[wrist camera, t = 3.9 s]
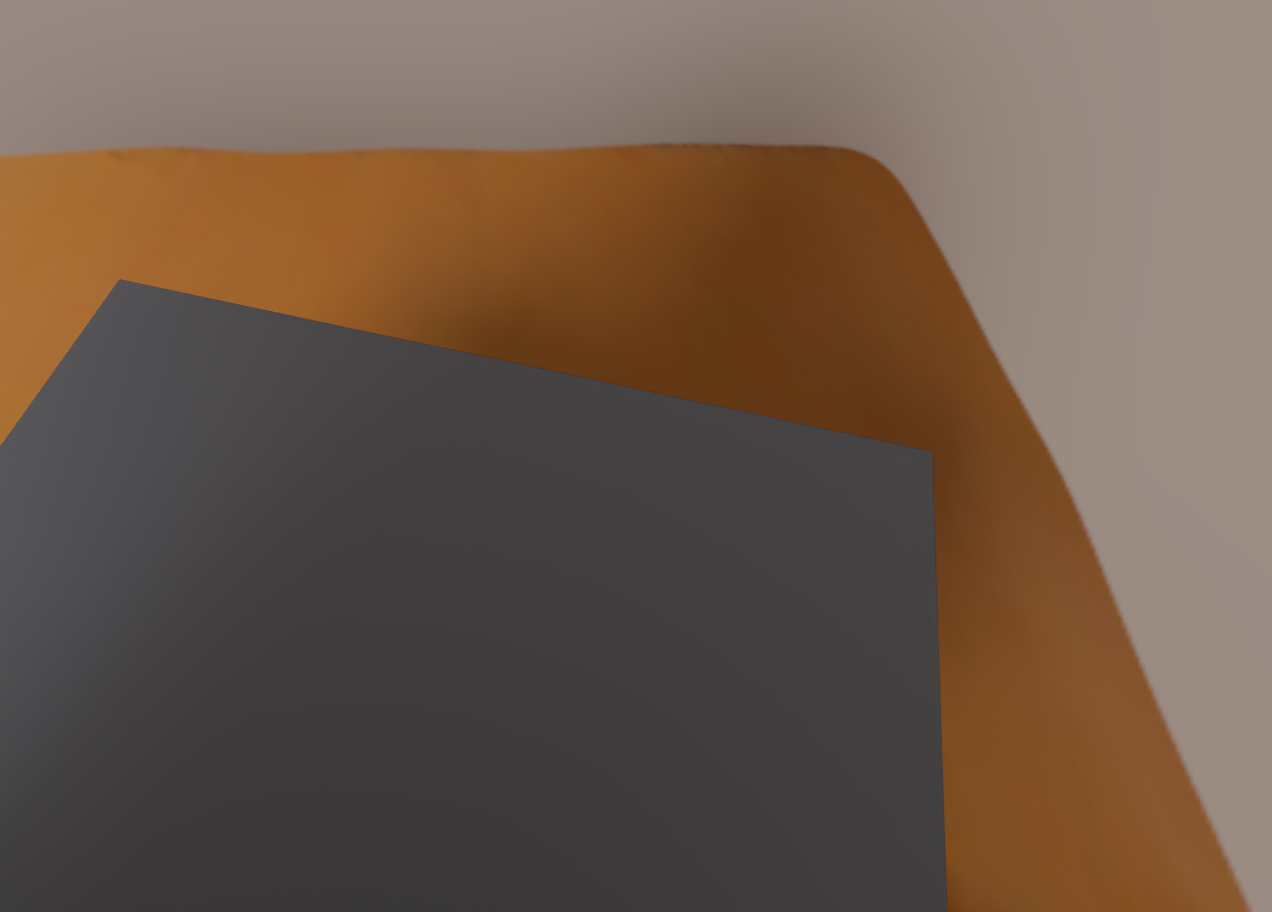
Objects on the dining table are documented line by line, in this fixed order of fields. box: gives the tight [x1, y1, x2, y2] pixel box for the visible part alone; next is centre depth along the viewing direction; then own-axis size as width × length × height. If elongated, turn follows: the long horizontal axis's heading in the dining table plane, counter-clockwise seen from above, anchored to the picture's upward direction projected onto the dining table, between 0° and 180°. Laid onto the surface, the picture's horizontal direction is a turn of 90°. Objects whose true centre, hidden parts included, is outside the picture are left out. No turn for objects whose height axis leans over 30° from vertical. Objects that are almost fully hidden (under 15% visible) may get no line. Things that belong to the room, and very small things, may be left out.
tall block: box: [0, 279, 947, 912], centre depth 8 cm, size 5×5×13 cm
